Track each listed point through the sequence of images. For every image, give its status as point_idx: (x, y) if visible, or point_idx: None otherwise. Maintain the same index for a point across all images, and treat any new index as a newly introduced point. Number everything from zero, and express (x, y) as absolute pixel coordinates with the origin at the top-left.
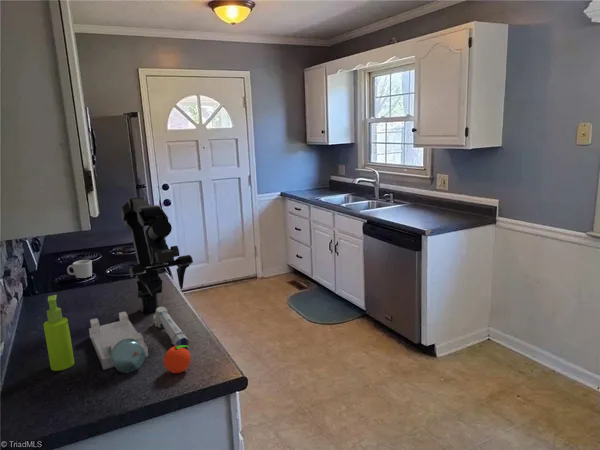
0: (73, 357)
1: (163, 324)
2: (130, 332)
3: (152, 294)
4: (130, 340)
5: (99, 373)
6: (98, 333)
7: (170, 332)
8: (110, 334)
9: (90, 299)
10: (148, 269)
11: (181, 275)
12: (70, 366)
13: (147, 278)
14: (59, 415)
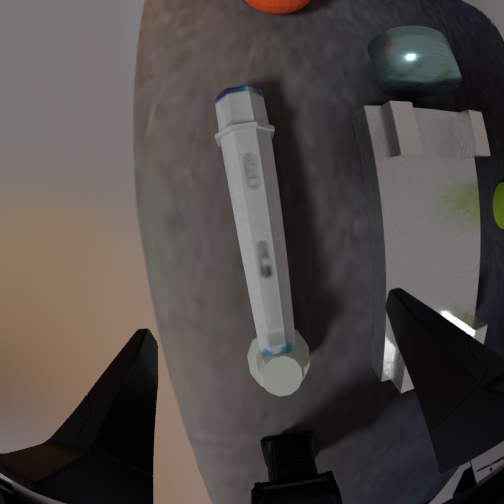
0: (502, 202)
1: (288, 274)
2: (403, 265)
3: (397, 290)
4: (429, 51)
5: (452, 108)
6: (464, 304)
7: (273, 171)
8: (447, 280)
9: (380, 496)
10: (477, 497)
11: (93, 417)
12: (497, 186)
13: (496, 381)
14: (468, 26)
